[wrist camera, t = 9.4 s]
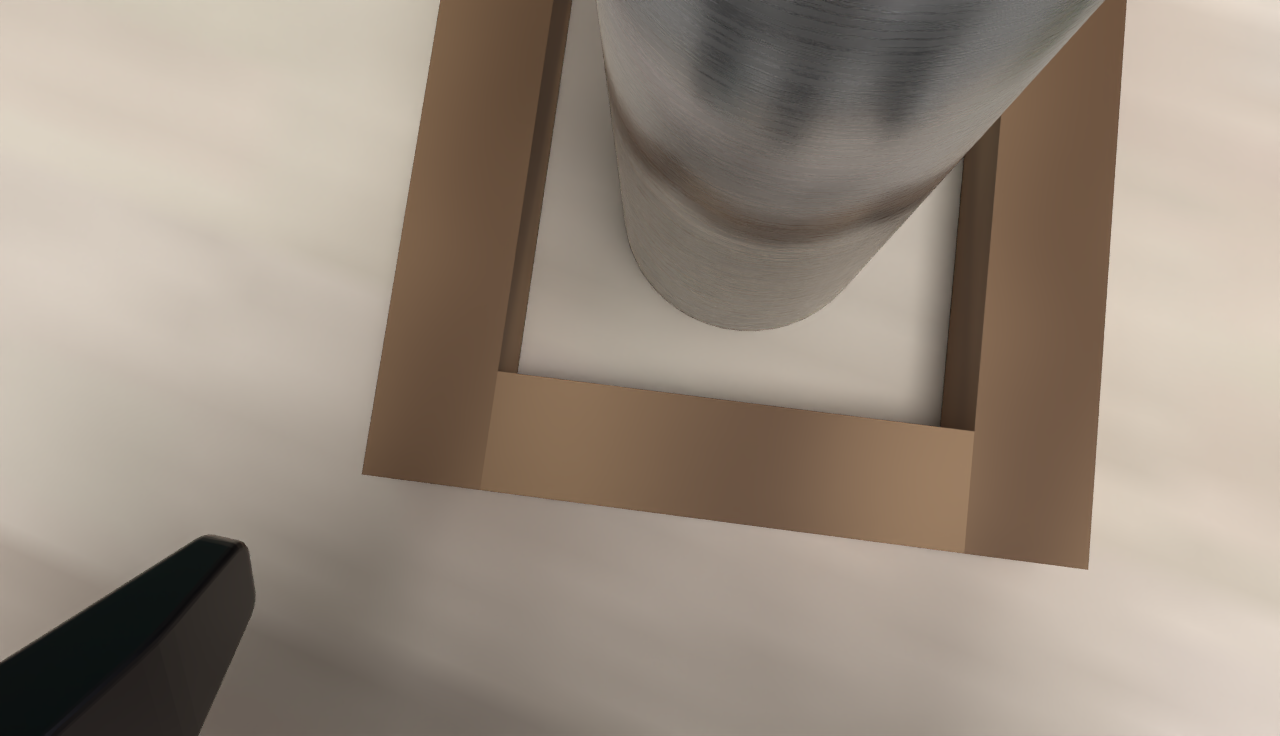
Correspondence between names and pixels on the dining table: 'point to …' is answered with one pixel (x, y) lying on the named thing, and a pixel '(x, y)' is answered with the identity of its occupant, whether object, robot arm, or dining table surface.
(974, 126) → the grey brushed cylinder
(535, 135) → the holder
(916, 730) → the dining table surface
